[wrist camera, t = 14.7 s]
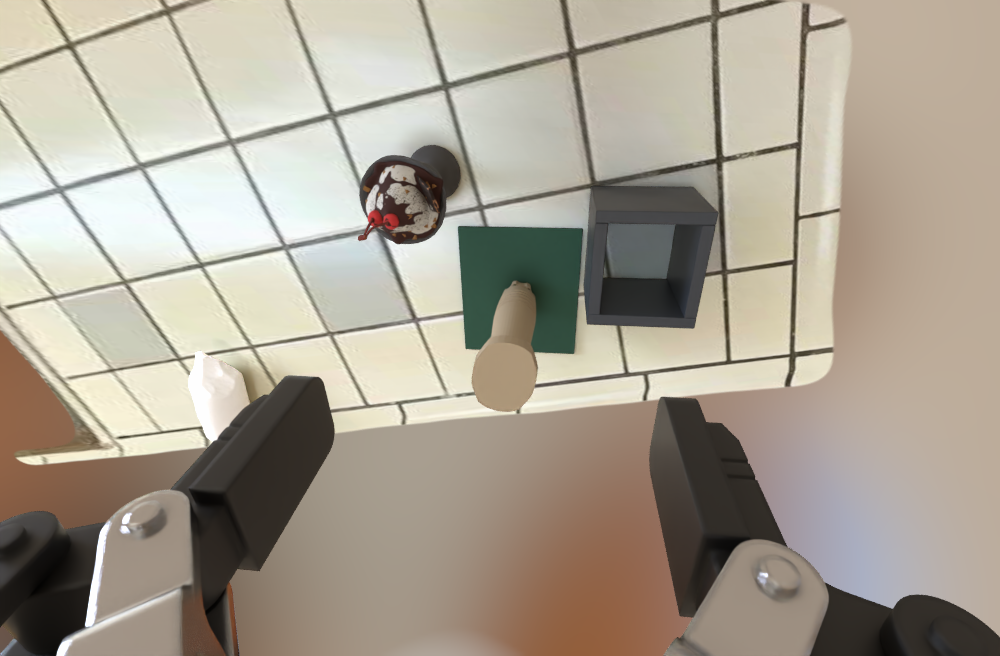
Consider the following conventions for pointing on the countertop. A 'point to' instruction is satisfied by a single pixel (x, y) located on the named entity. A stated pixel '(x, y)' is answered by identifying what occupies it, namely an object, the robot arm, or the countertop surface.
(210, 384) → the white tapered piece
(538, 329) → the mat
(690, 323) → the grey box
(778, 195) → the countertop surface
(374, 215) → the sundae
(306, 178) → the countertop surface
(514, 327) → the handle
